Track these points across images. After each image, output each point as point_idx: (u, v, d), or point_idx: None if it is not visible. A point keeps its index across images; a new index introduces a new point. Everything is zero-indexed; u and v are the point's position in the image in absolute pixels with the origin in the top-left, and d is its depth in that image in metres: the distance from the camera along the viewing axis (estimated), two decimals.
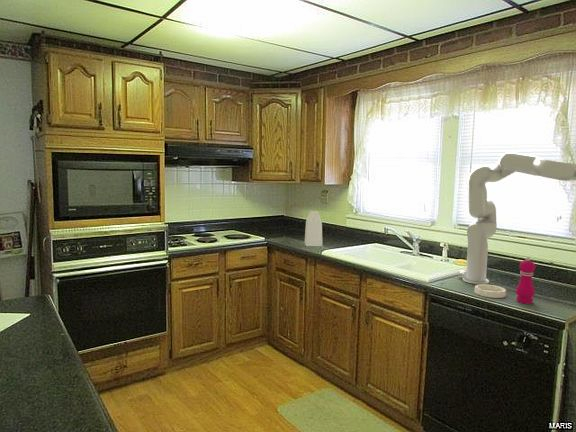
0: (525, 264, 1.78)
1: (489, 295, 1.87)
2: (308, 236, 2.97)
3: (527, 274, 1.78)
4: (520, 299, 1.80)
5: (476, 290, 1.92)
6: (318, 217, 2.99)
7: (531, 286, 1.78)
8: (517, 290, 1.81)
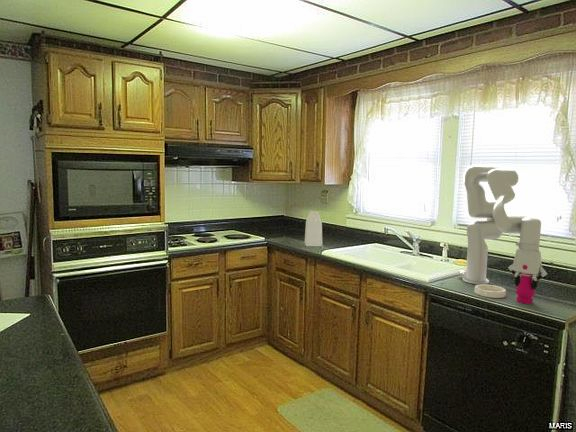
0: None
1: (489, 295, 1.87)
2: (308, 236, 2.97)
3: (527, 274, 1.78)
4: (520, 299, 1.80)
5: (476, 290, 1.92)
6: (318, 217, 2.99)
7: (531, 286, 1.78)
8: (517, 290, 1.81)
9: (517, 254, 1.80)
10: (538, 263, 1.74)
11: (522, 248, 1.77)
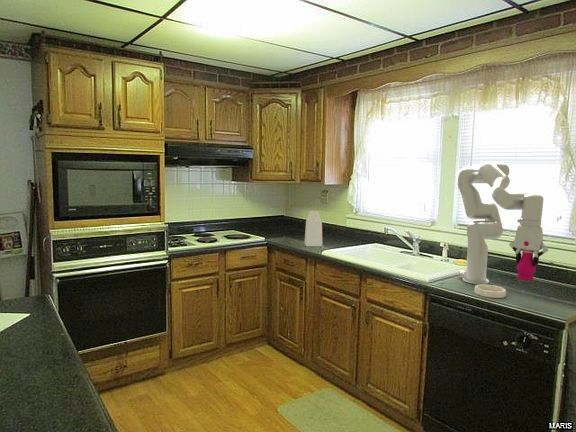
0: None
1: (489, 295, 1.87)
2: (308, 236, 2.97)
3: (528, 251, 1.77)
4: (521, 276, 1.79)
5: (476, 290, 1.92)
6: (318, 217, 2.99)
7: (532, 263, 1.78)
8: (518, 267, 1.80)
9: (518, 231, 1.79)
10: (539, 239, 1.74)
11: (524, 224, 1.76)
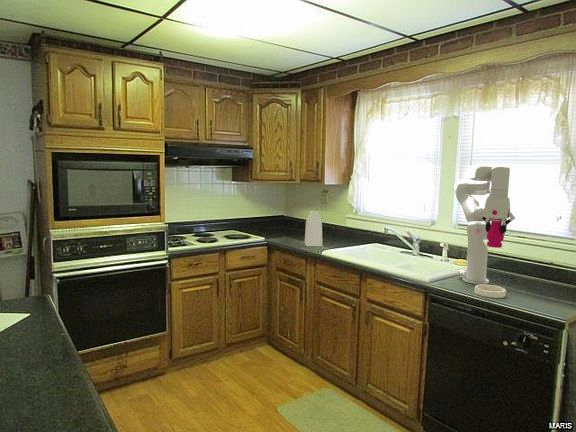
0: None
1: (489, 295, 1.87)
2: (308, 236, 2.97)
3: (496, 219, 1.86)
4: (490, 243, 1.88)
5: (476, 290, 1.92)
6: (318, 217, 2.99)
7: (500, 231, 1.87)
8: (487, 235, 1.89)
9: (487, 200, 1.88)
10: (507, 208, 1.83)
11: (492, 194, 1.85)
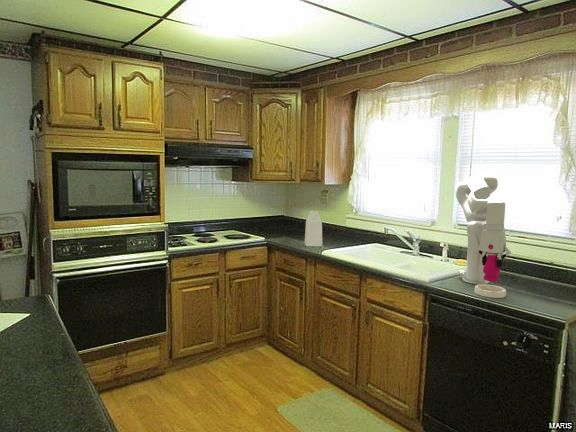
0: None
1: (489, 295, 1.87)
2: (308, 236, 2.97)
3: (492, 253, 1.88)
4: (486, 277, 1.90)
5: (476, 290, 1.92)
6: (318, 217, 2.99)
7: (496, 265, 1.89)
8: (484, 269, 1.91)
9: (483, 235, 1.90)
10: (502, 243, 1.85)
11: (488, 229, 1.88)
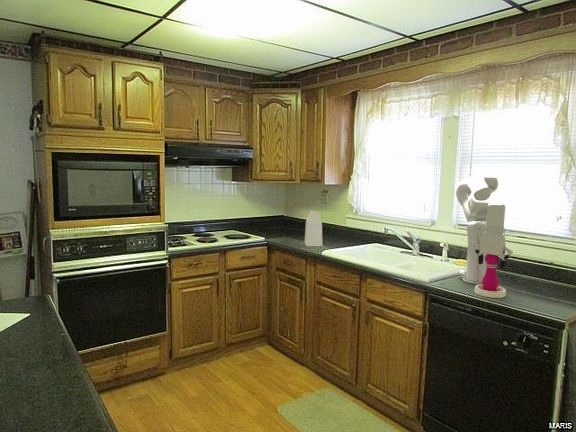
0: (489, 256, 1.89)
1: (489, 295, 1.87)
2: (308, 236, 2.97)
3: (491, 266, 1.89)
4: None
5: (476, 290, 1.92)
6: (318, 217, 2.99)
7: (495, 277, 1.90)
8: (482, 281, 1.92)
9: (483, 237, 1.91)
10: (502, 245, 1.85)
11: (487, 231, 1.88)
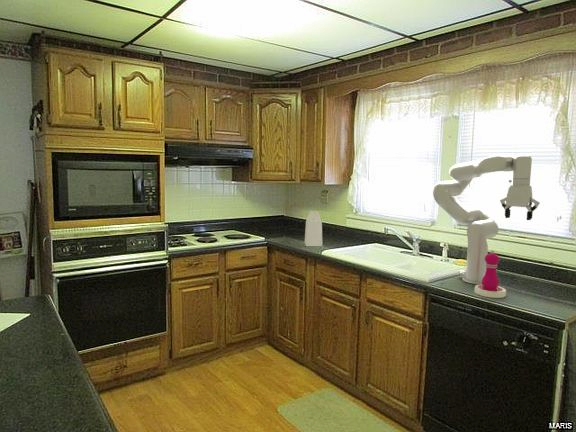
0: (489, 256, 1.89)
1: (489, 295, 1.87)
2: (308, 236, 2.97)
3: (491, 266, 1.89)
4: None
5: (476, 290, 1.92)
6: (318, 217, 2.99)
7: (495, 277, 1.90)
8: (482, 281, 1.92)
9: (509, 189, 1.93)
10: (528, 196, 1.87)
11: (514, 183, 1.91)
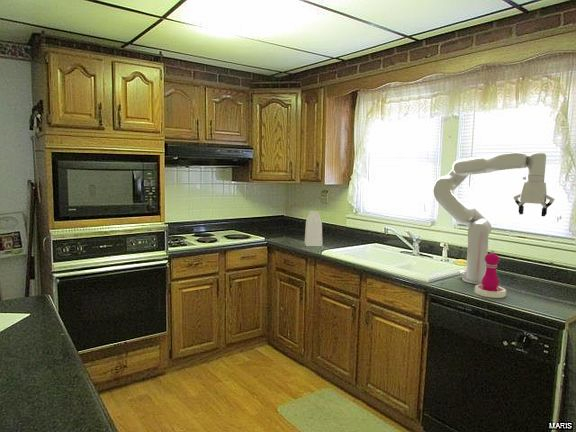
0: (489, 256, 1.89)
1: (489, 295, 1.87)
2: (308, 236, 2.97)
3: (491, 266, 1.89)
4: None
5: (476, 290, 1.92)
6: (318, 217, 2.99)
7: (495, 277, 1.90)
8: (482, 281, 1.92)
9: (524, 186, 1.96)
10: (543, 192, 1.91)
11: (529, 180, 1.94)
